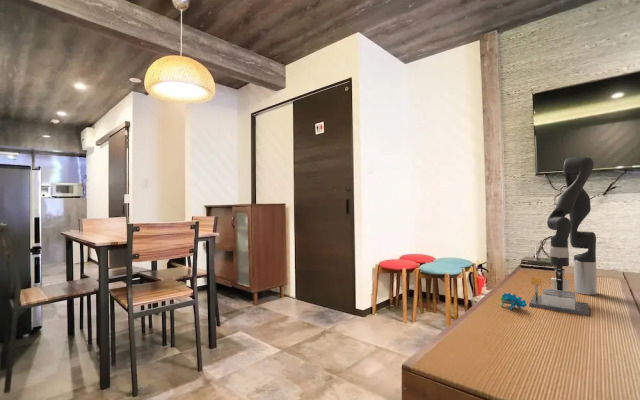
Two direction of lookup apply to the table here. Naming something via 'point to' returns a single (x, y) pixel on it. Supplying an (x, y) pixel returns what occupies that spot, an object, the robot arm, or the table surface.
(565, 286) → the block
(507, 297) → the blue bumpy plastic figure
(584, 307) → the rack
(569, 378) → the table surface
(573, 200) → the robot arm
